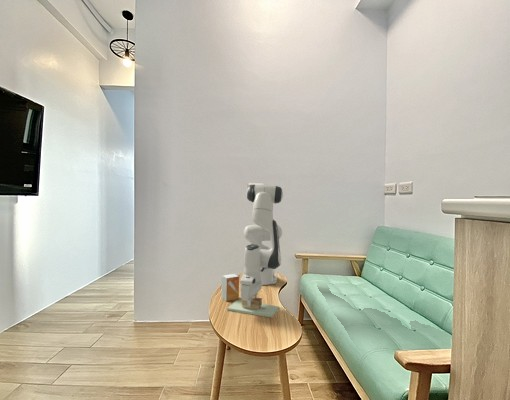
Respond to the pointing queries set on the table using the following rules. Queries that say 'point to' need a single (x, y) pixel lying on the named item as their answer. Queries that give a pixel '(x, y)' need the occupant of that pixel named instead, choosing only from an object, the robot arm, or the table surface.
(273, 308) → the board
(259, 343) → the table surface
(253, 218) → the robot arm
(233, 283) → the small box
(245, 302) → the block
